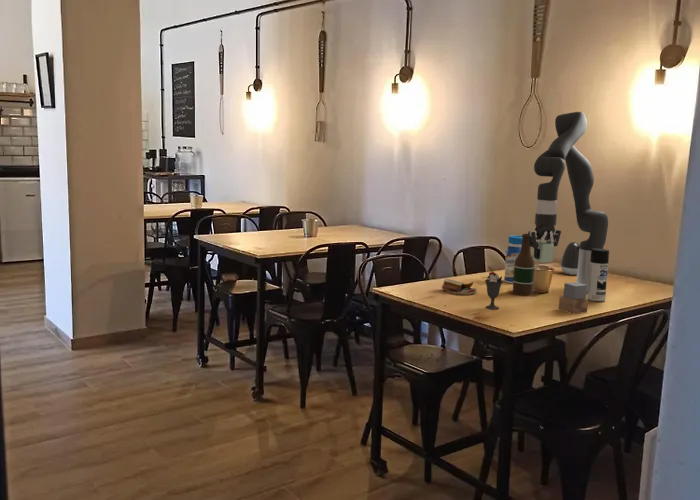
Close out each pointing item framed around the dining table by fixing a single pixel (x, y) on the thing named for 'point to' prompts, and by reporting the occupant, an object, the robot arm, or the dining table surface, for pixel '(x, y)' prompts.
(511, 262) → the beverage bottle
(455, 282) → the toy sandwich meal
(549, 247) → the block
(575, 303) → the plinth
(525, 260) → the beer bottle
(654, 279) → the dining table surface
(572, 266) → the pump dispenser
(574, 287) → the cube
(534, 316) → the dining table surface
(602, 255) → the spray can
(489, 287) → the sundae
